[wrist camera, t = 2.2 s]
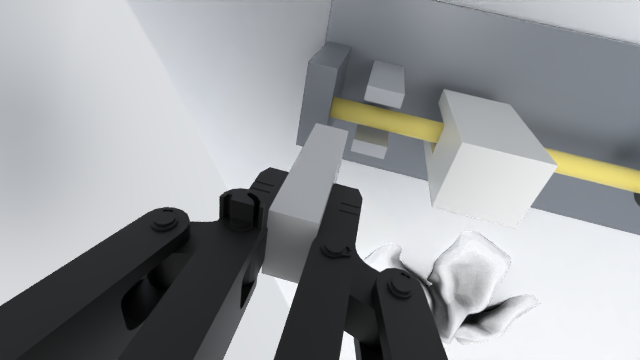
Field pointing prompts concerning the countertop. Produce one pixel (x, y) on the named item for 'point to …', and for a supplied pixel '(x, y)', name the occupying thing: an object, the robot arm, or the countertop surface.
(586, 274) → the countertop surface
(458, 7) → the linear slide fixture
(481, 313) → the cloth
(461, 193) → the white rectangular block
